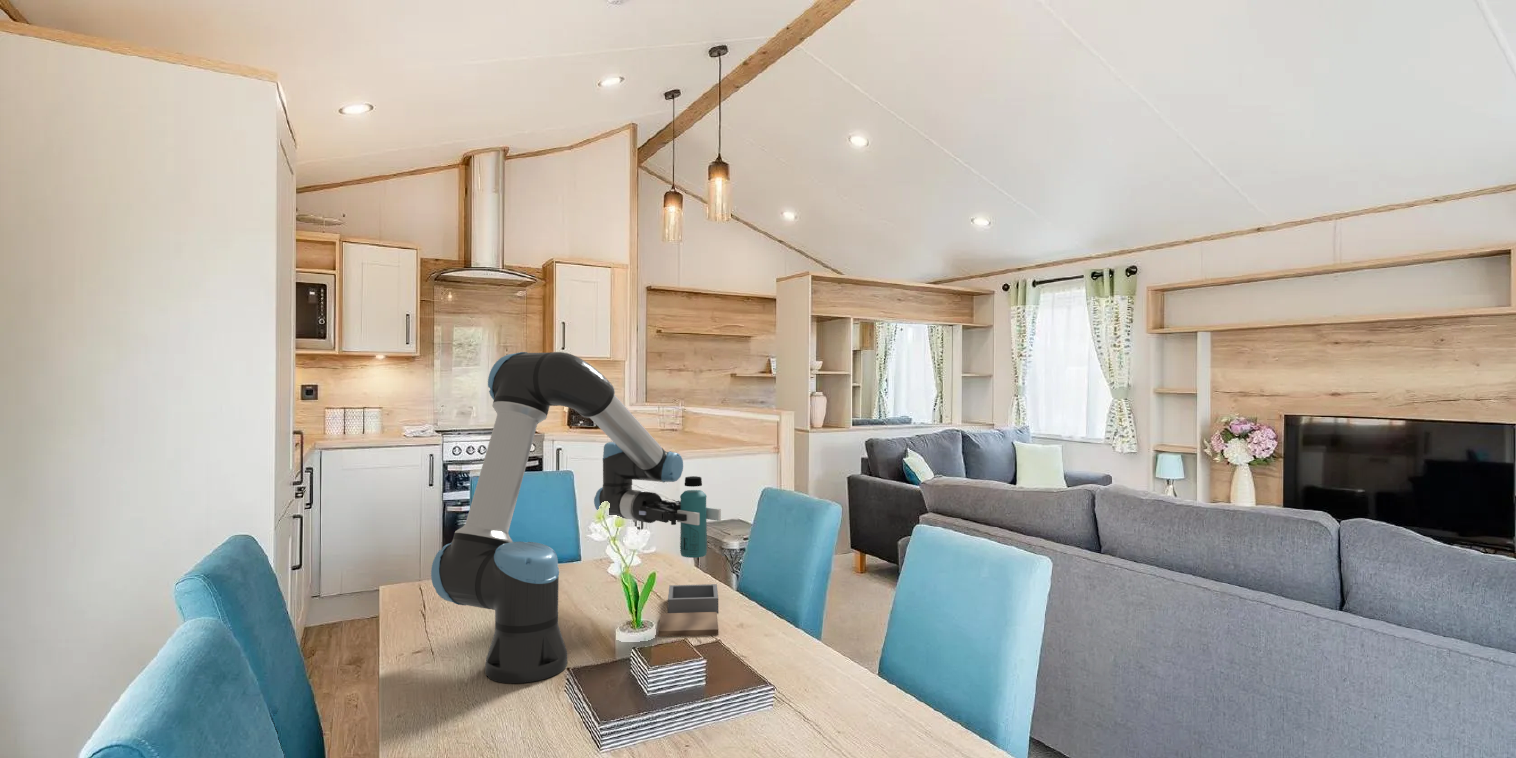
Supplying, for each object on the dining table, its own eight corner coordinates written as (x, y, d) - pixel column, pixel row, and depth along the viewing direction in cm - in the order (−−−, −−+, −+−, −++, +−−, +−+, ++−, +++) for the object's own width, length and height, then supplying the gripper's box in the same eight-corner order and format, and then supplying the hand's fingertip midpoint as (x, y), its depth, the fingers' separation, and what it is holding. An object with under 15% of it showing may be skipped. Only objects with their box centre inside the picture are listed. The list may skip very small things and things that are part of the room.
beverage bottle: (712, 559, 174) (712, 475, 174) (696, 565, 168) (696, 478, 168) (690, 556, 177) (690, 474, 178) (673, 562, 172) (674, 477, 172)
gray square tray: (667, 614, 173) (667, 599, 173) (669, 599, 185) (669, 585, 185) (718, 612, 174) (718, 598, 174) (716, 597, 186) (716, 584, 186)
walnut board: (658, 636, 158) (658, 631, 158) (660, 618, 170) (660, 613, 170) (718, 634, 160) (718, 629, 160) (716, 616, 171) (716, 611, 171)
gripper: (670, 516, 192) (736, 527, 177) (611, 526, 177) (679, 539, 162) (670, 487, 192) (736, 496, 177) (612, 495, 177) (679, 506, 162)
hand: (709, 516), depth 170 cm, fingers closed on beverage bottle, 6 cm apart
